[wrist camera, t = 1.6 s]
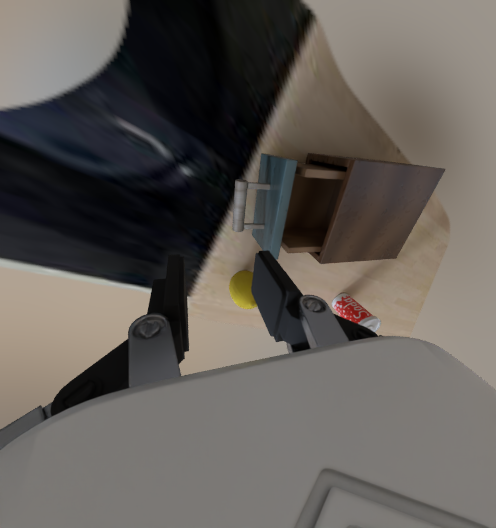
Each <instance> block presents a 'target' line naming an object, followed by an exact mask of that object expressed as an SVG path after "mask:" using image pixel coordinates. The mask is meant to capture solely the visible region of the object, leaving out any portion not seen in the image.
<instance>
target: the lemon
mask: <svg viewBox="0 0 496 528" xmlns="http://www.w3.org/2000/svg"><path fill="white" fill-rule="evenodd" d="M252 279H253V272H250V271H240V272H238V273H236V274H235V275H234V276H233V277H232V279H231V281H230V285H229V290H230V294H231V297H232V299H233V300H234V302H235V303H236V304H237V305H238V306H239V307H241V308H244V309H252V308H255V307H257V304H256V302H255V300H254V297H253V295H252V292H251V286H252Z"/></svg>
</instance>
